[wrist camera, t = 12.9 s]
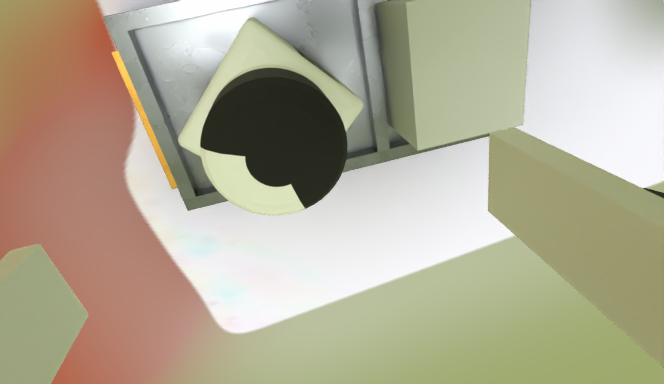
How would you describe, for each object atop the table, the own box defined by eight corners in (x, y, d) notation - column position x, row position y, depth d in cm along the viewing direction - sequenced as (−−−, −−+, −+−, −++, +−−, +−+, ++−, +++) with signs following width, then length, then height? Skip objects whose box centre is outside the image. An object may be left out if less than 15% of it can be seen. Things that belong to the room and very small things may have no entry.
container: (250, 14, 25) (243, 20, 13) (340, 81, 28) (399, 132, 16) (195, 110, 27) (148, 186, 15) (285, 162, 30) (302, 258, 18)
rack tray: (112, 17, 25) (95, 18, 22) (484, -60, 27) (509, -67, 24) (187, 195, 31) (181, 212, 29) (482, 122, 33) (501, 132, 31)
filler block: (375, 3, 26) (406, 2, 20) (477, -19, 26) (532, -25, 21) (389, 125, 30) (417, 150, 25) (477, 104, 31) (522, 124, 25)
